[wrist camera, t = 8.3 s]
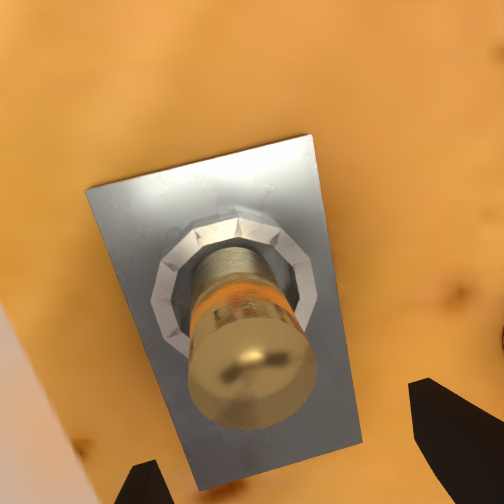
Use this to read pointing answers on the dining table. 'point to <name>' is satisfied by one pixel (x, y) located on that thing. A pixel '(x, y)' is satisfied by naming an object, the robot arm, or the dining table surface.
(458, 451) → the robot arm
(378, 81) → the dining table surface
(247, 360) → the brass fitting
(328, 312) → the pipe plate
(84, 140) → the dining table surface
